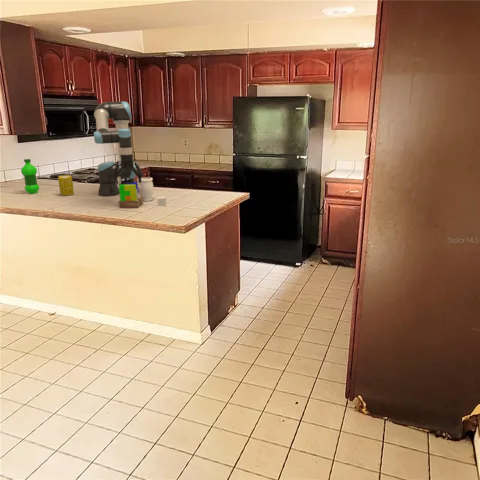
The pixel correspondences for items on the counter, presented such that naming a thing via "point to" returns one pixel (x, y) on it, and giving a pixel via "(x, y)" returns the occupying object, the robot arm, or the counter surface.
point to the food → (66, 185)
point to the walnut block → (131, 203)
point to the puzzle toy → (129, 191)
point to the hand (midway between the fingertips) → (129, 187)
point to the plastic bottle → (30, 177)
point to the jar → (146, 188)
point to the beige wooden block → (161, 201)
